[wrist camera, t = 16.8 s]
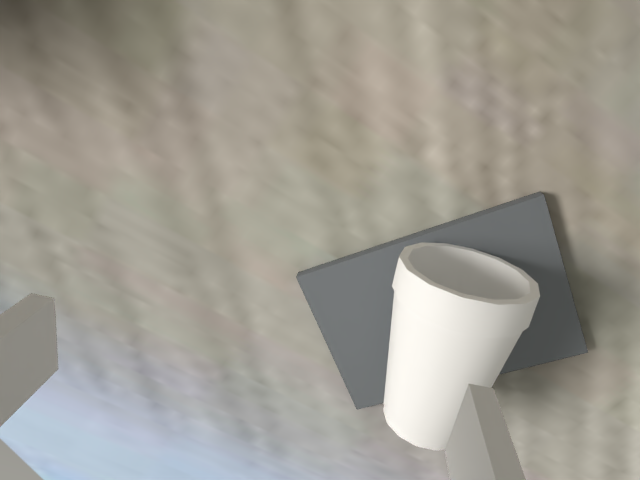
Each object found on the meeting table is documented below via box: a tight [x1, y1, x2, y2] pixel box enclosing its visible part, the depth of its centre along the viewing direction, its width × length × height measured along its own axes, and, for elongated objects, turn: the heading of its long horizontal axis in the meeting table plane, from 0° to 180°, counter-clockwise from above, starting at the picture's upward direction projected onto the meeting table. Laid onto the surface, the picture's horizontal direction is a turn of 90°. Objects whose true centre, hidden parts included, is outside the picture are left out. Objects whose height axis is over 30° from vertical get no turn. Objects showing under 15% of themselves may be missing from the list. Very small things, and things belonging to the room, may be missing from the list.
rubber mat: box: [296, 192, 588, 409], centre depth 39 cm, size 20×14×1 cm
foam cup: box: [383, 243, 540, 451], centre depth 35 cm, size 10×9×13 cm
